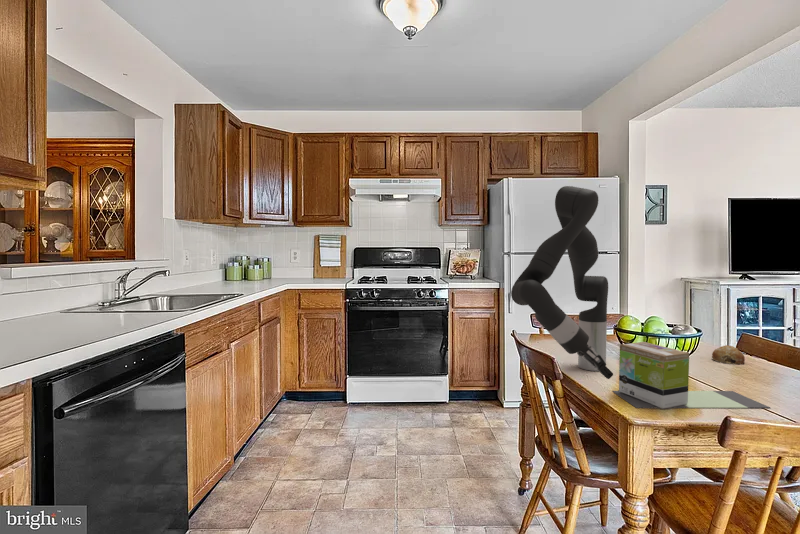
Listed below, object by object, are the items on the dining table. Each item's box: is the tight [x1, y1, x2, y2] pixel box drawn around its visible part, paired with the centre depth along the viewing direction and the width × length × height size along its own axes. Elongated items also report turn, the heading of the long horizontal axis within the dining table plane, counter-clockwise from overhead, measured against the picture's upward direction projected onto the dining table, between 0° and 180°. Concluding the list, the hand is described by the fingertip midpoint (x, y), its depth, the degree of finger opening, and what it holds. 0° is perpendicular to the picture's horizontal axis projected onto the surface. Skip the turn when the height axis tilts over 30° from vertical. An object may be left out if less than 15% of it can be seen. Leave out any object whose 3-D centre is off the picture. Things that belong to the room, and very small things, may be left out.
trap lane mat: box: [612, 390, 771, 410], centre depth 129 cm, size 14×36×1 cm, turn 90°
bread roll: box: [711, 344, 746, 365], centre depth 172 cm, size 10×10×8 cm
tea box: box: [618, 341, 690, 409], centre depth 129 cm, size 15×10×15 cm
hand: (609, 376), depth 129 cm, fingers closed
